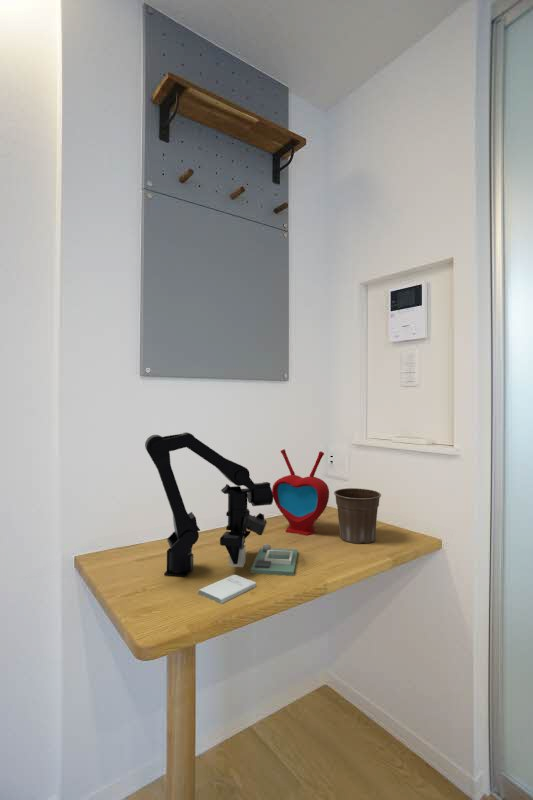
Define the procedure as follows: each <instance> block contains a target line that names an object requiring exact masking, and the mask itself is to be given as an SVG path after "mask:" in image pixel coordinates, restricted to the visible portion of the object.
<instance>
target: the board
mask: <svg viewBox="0 0 533 800" xmlns="http://www.w3.org/2000/svg"><path fill="white" fill-rule="evenodd" d="M298 552H299V551H298V549H296V548H295V549H294V548H276V547H271V545H270V544H264V545H262V547H259V550H258V552H257V554H256V556H255V558H254V561H253V564H252V565H251V568H250V574H258V575H274V574H275V575H276V574H277V575H276V576H291V575H292V576H295V569H296V563H297V558H298ZM292 576H291V577H292Z"/></svg>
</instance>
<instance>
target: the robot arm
mask: <svg viewBox="0 0 533 800" xmlns="http://www.w3.org/2000/svg"><path fill="white" fill-rule="evenodd" d="M144 443H145V444H144V446H145V450H146V452H147V454H148V455H149V457H150V458H151V461H152V462H153V465H154V466H155V467H156V469H157V471H158V472H157V473H158V475H159V478H160V482H161V483H162V487H163V490H164V492H165V496H166V498H167V500H168V501H167V502H168V504H169V507H170V510H171V512H172V520H173V527H174V530H173V532H172V533H171V534H170V535H169V536H168V538H167V539H166V540H167V544H168V545H169V548H168V549H167V550H166V570H165V572H163V573H164V576H173V577H174V576H176V577H187V576H188V575H189V574H190V573H191V571H193V569H194V553H192V550H193V547H194V545H195V544H196V543H197V542H198V540H199V536H200V535H199V532H200V531H201V529H200V527H199V526H198V523H197V518H196V516H195V515H194V512H192V511H191V512H189V513H188V511H187V509H186V507H185V506H186V505H185V504H184V503H185V502H184V500H183V498H182V494H181V492H180V489H179V486H178V483H177V480H176V477H175V474H174V471H173V469H172V465H171V453H170V452H174V451H177V450H181V449H184V448H186V449H188V450H190V451H191V452H193V453H194V454H196V455H197V456H199V457H201V458H202V459H203V460H204V461H206V462H207V463H209V464H210V465H212V466H213V467H215V468H216V469H217V470H218V471H219V472H220V473H221V474H222V475H223V476H224V477H225V478H226V479H227V480H228V481H229V482H230V483H232V484H234V485H235V486H230V484H228V483H226V484H225V486H224V487H222V488H221V489H220V492H221V493H223V494H224V495H227V511H226V514H225V515H226V517H227V525H226V527H225V528H226V529H225V530H226V531H225V532H224V533H223V534H222V535H221V536H220V538H219V545H220V546H223V547H225V549H226V551H227V553H228V556H229V555H230V557H231V559H232V561H233V564H237V563H238V558H239V552H240V547H241V546H242V545H245V543H246V538H247V537H249V535H250V534H251V533H255V534H257V535H258V536H262V535H263V533H264V532H265V528H266V526H267V523H268V522H267V520H266V519H265V514H262V513H261V512H259V513H258V514H256V515H252V514H251V513H250V510H249V508H248V503H249V504H251V506H252V507H260V506H271V505H272V504H273V503H274V502H273V501H274V498H273V494H272V487H271V483H270V482H269V481H265V482H259V483H256V482H254V481H253V479H251V477H250V476H251V475H250V471H249V469H248V468H247V467H246V466H243V465H242V464H239V463H237V462H234V461H232V460H230V459H228V458H225V457H224V456H222V455H221V454H220V453H218V452H216V451H215V449H212V448H211V447H210V446H208V445H207V444H205V443H204V442H202V441H200V440H199V439H198V438H196V437H195V436H194V434H192V433H190V432H181V433H177V434H173V435H172V434H171V435H164V436H161V435H159V434H153V435H151V436H149V437H147V439H146V441H145V442H144ZM242 486H243V487H245V488H242Z"/></svg>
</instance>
